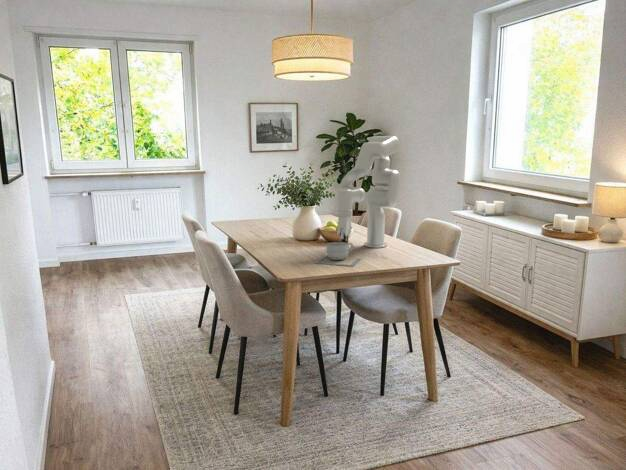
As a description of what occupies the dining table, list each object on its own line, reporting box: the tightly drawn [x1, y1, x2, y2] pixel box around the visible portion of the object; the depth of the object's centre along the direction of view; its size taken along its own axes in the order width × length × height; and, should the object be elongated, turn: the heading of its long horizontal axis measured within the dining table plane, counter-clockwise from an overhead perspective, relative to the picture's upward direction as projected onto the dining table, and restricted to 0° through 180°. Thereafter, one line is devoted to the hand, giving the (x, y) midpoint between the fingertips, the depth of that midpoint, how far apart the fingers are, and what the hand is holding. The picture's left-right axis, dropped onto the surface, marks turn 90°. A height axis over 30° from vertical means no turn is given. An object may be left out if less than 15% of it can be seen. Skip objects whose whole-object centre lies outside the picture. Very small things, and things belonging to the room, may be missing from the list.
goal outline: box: [313, 255, 362, 268], centre depth 255 cm, size 16×20×1 cm
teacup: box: [326, 241, 354, 261], centre depth 259 cm, size 14×11×8 cm
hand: (344, 248), depth 266 cm, fingers closed
